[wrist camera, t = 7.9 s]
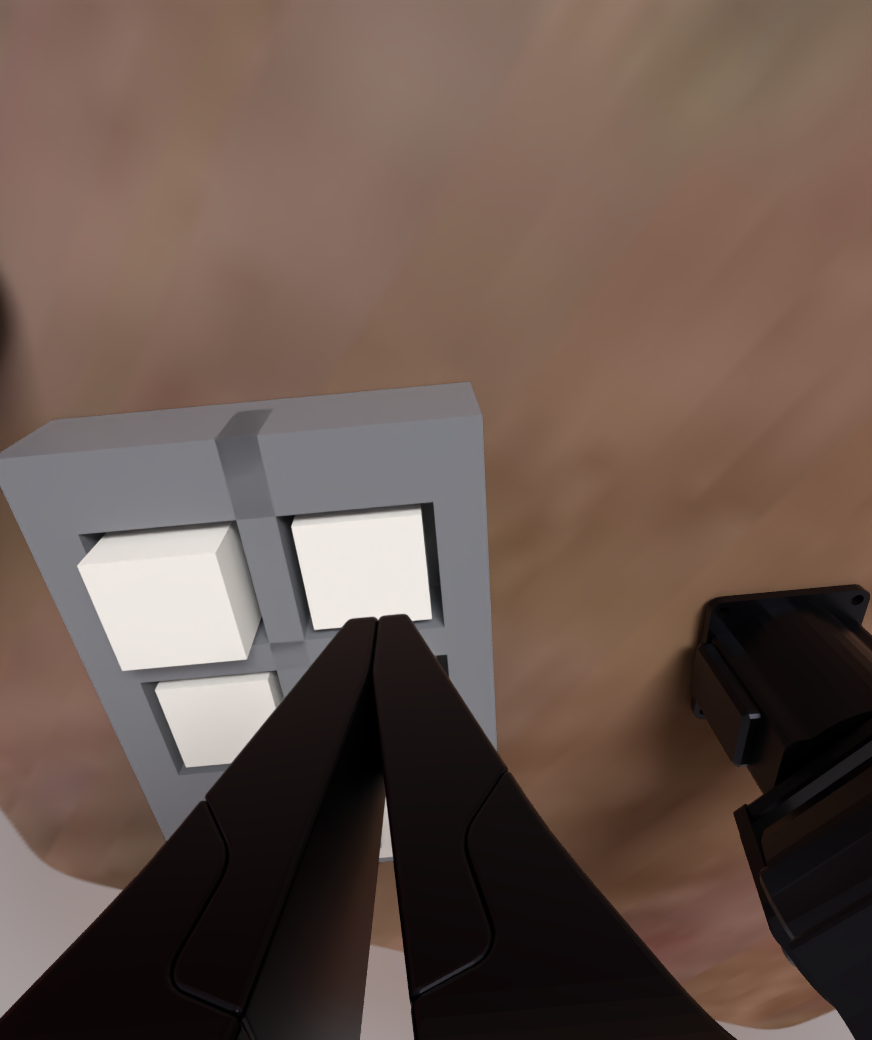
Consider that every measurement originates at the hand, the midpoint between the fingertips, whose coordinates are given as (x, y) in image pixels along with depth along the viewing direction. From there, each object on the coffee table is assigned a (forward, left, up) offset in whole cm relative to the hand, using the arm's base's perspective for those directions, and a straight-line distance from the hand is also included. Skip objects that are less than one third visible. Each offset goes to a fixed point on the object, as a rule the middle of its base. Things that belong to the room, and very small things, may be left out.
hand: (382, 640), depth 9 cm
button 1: (+8, +5, -11) cm, 14 cm away
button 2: (+8, +11, -12) cm, 18 cm away
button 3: (+2, +5, -12) cm, 13 cm away
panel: (+4, +10, -13) cm, 17 cm away
